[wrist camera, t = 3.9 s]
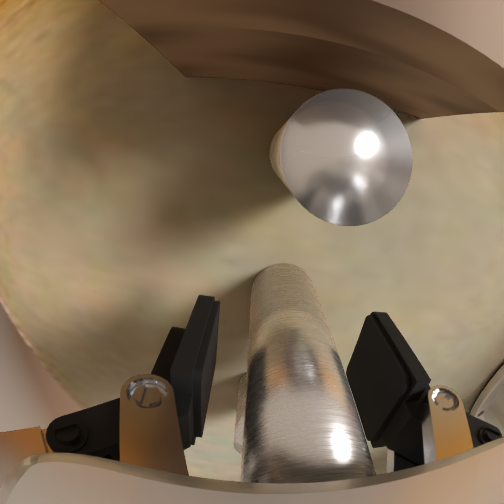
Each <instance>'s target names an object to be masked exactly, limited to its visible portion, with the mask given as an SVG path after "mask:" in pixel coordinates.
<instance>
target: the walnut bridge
mask: <svg viewBox="0 0 504 504" xmlns="http://www.w3.org/2000/svg"><path fill="white" fill-rule="evenodd" d="M99 1H101V2H102V3H103V4H104V5H106V6H107V7H108V8H109V9H111V10H112V11H113V12H114V13H115V14H117V15H118V16H119V17H120V18H122V19H123V20H124V21H125V22H126V23H127V24H129V25H130V26H131V27H132V28H133V29H134V30H136V31H137V32H138V33H139V34H140V35H141V36H142V37H144V38H145V39H146V40H147V41H148V42H149V43H150V44H151V45H152V46H154V47H155V48H156V49H157V50H158V51H159V52H160V53H161V54H162V55H163V56H164V57H165V58H167V59H168V60H169V61H170V62H171V63H172V64H173V65H174V66H175V67H176V68H177V69H178V70H179V71H180V72H181V73H182V74H183V75H184V76H185V77H222V78H237V79H249V80H259V81H267V82H275V83H283V84H289V85H296V86H302V87H307V88H313V89H318V90H323V91H328V90H332V89H354V90H359V91H362V92H366V93H368V94H370V95H372V96H375V97H376V98H378V99H379V100H381V101H382V102H384V103H385V104H386V105H387V106H389V107H390V108H393V109H396V110H399V111H402V112H405V113H408V114H411V115H413V116H416V117H419V118H422V119H424V118H432V117H440V116H450V115H460V114H473V113H489V112H504V0H99Z"/></svg>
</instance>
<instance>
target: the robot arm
mask: <svg viewBox="0 0 504 504" xmlns="http://www.w3.org/2000/svg"><path fill="white" fill-rule="evenodd" d="M219 309H220V302H218V301H215V298H214V297H211V296H203V295H199V296H198V299H197V301H196V304H195V306H194V309H193V311H192V314H191V316H190V319H189V322H188V324H187V327H186V329H183V328H177V327H172V328H171V330H170V332H169V334H168V336H167V338H166V341H165V343H164V345H163V347H162V350H161V352H160V354H159V356H158V359H157V361H156V363H155V365H154V368H153V370H152V372H151V374H142V375H137V376H134V377H131V378H130V379H129V380H127V381H126V382H125V383H124V385H123V386H122V389H121V393H120V398H118V399H115V400H112V401H109V402H106V403H103V404H100V405H97V406H94V407H91V408H87V409H84V410H81V411H78V412H74V413H71V414H68V415H64V416H61V417H59V418H56V419H55V420H53V421H52V422H51V423H50V424H49V426H48V428H47V429H43V430H41V428H40V427H34V428H28V429H22V430H15V431H8V432H0V504H504V364H503V365H502V367H501V368H500V369H499V370H498V371H497V372H496V374H495V375H494V376H493V377H492V379H491V380H490V381H489V382H488V384H487V385H486V387H485V388H484V389H483V391H482V392H481V394H480V395H479V397H478V399H477V400H476V402H475V404H474V406H473V408H472V410H471V413H470V414H468V413H466V412H465V409H464V406H463V402H462V399H461V397H460V396H459V394H458V393H457V392H456V391H454V390H453V389H452V388H449V387H447V386H443V385H437V386H434V387H432V388H430V386H429V383H430V381H431V379H430V378H429V376H428V374H427V373H426V371H425V370H424V368H423V366H422V365H421V363H420V362H419V360H418V359H417V357H416V355H415V354H414V352H413V351H412V349H411V348H410V346H409V345H408V343H407V342H406V340H405V339H404V337H403V336H402V334H401V333H400V331H399V330H398V328H397V327H396V325H395V324H394V323H393V321H392V320H391V318H390V317H389V315H388V314H387V313H384V312H372V313H371V314H370V315H368V316H367V317H366V319H365V321H364V324H363V327H362V330H361V333H360V335H359V338H358V341H357V344H356V346H355V349H354V352H353V354H352V357H351V359H350V362H349V364H348V367H347V371H346V375H347V379H348V382H349V385H350V388H351V391H352V394H353V397H354V400H355V403H356V406H357V410H358V413H359V416H360V419H361V422H362V425H363V429H364V432H365V435H366V438H367V440H368V441H371V444H372V447H373V448H377V447H384V446H387V448H388V453H387V471H386V474H381V475H375V476H369V477H363V478H356V479H348V480H339V481H329V482H315V483H285V484H277V483H248V482H234V481H224V480H215V479H207V478H200V477H193V476H189V474H188V470H187V465H186V460H185V455H184V450H185V449H187V448H189V447H190V446H191V445H194V444H195V439H196V437H202V435H203V429H204V424H205V418H206V413H207V407H208V402H209V397H210V391H211V386H212V381H213V375H214V370H215V364H216V352H217V337H218V322H219Z"/></svg>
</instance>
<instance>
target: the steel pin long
mask: <svg viewBox="0 0 504 504" xmlns="http://www.w3.org/2000/svg"><path fill="white" fill-rule="evenodd" d="M375 475H376V474H375V470H374V466H373V463H372V459H371V456H370V452H369V449H368V445H367V442H366V439H365V435H364V432H363V429H362V425H361V422H360V419H359V416H358V412H357V409H356V406H355V403H354V400H353V397H352V393H351V390H350V387H349V384H348V381H347V378H346V375H345V372H344V369H343V366H342V363H341V360H340V358H339V355H338V352H337V349H336V346H335V343H334V340H333V337H332V335H331V332H330V329H329V326H328V323H327V321H326V318H325V315H324V312H323V310H322V307H321V304H320V302H319V299H318V296H317V294H316V291H315V288H314V286H313V283H312V280H311V278H310V277H309V275H308V274H307V273H306V272H305V271H304V270H303V269H301V268H300V267H298V266H296V265H292V264H287V263H281V264H275V265H272V266H269V267H267V268H266V269H264V270H263V271H261V272H260V273H259V274H258V275H257V277H256V278H255V280H254V282H253V285H252V290H251V307H250V325H249V343H248V361H247V379H246V396H245V414H244V432H243V449H242V466H241V482H248V483H277V484H285V483H315V482H329V481H339V480H348V479H356V478H363V477H369V476H375Z"/></svg>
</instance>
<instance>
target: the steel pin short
mask: <svg viewBox="0 0 504 504" xmlns="http://www.w3.org/2000/svg"><path fill="white" fill-rule="evenodd" d="M246 379H247V373H246V374H244V375H243V376H242V377H241V379H240V381H239V388H238V400H237V412H236V424H235V436H234V448H235V449H236V451H238V452H239V453H240V454H242V449H243V432H244V414H245V396H246Z"/></svg>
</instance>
